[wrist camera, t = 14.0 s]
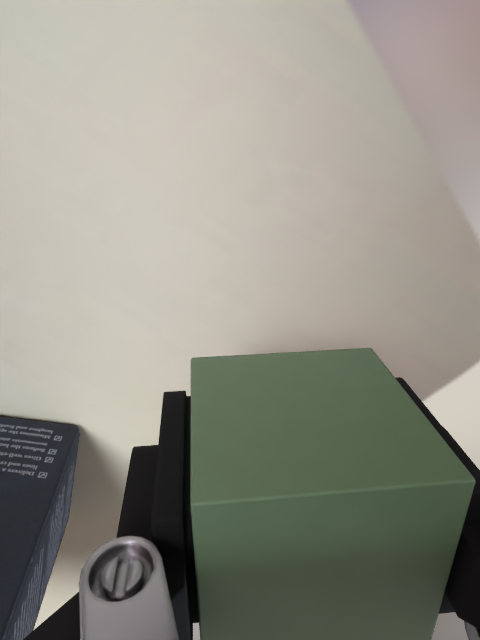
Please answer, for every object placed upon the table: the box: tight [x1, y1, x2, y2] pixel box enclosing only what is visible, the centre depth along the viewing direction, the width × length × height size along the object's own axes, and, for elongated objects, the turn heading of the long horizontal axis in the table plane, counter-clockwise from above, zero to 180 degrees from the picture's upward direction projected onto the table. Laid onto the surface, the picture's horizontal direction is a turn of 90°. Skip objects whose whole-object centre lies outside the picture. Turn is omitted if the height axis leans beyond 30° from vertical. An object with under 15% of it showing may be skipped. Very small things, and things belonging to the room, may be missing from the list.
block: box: [190, 348, 475, 640], centre depth 10 cm, size 4×4×4 cm
